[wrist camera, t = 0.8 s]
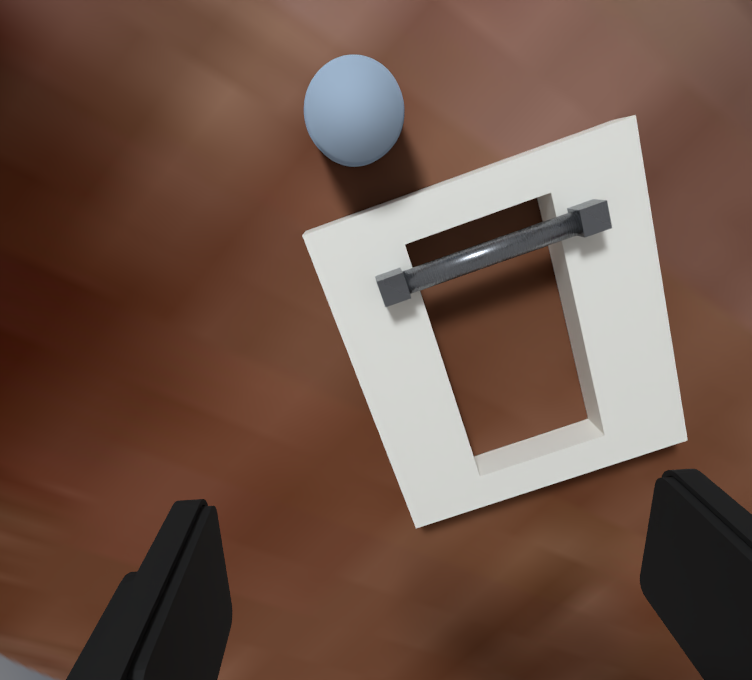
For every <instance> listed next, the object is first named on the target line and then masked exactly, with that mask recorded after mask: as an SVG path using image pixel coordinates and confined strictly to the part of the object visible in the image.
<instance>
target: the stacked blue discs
mask: <svg viewBox="0 0 752 680" xmlns="http://www.w3.org/2000/svg"><path fill="white" fill-rule="evenodd" d="M304 117H305V123H306V127H307V130H308V132H309V135H310V137H311V138H312V140H313V142H314V143H315V145H316V146H317V147H318V148H319V149H320V150H321V151H322V152H323V154H324V155H325V156H327V157H328V158H329V159H331V160H332V161H334V162H336V163H338V164H341V165H344V166H350V167H358V166H364V165H368V164H370V163H372V162H374V161H376V160H378V159H379V158H381V157H382V156H384V155H385V154H386V153H387V152H388V151H389V150H390V149H391V148H392V147H393V145H394V144H395V143H396V141H397V139H398V137H399V135H400V132H401V130H402V126H403V122H404V101H403V97H402V93H401V91H400V88H399V86H398V84H397V82H396V80H395V78H394V77H393V75H392V74H391V73H390V72H389V71H388V69H387V68H385V67H384V66H383V65H382V64H381V63H379V62H378V61H376V60H374V59H372V58H369V57H366V56H362V55H345V56H341V57H338V58H335V59H333V60H331V61H330V62H328V63H327V64H325V65H324V66H323V67H322V68H321V69H320V70H319V71H318V72H317V73H316V75H315V76H314V78H313V79H312V81H311V83H310V85H309V87H308V89H307V92H306V96H305V101H304Z"/></svg>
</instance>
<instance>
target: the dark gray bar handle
mask: <svg viewBox="0 0 752 680" xmlns="http://www.w3.org/2000/svg"><path fill="white" fill-rule="evenodd" d="M567 211H568V213H566V214H563V215H561V216H558V217H555V218H552V219H549V220H546V221H544V222H541V223H538V224H535V225H532V226H529V227H527V228H524V229H521V230H518V231H515V232H512V233H510V234H507V235H504V236H501V237H498V238H495V239H493V240H490V241H487V242H484V243H481V244H478V245H476V246H473V247H470V248H467V249H464V250H461V251H459V252H456V253H453V254H450V255H447V256H444V257H442V258H439V259H436V260H433V261H430V262H427V263H425V264H422V265H419V266H416V267H413V268H411V269H408V270H405V271H402V270H401V268H397V269H394V270H391V271H389V272H386V273H383V274H380V275H377V276H375V278H376V282H377V285H378V288H379V290H380V293H381V296H382V299H383V302H384V305H385V307H388V306H391V305H394V304H397V303H399V302H402V301H405V300H408V299H411V295H410V294H411V293H414V292H417V291H420V290H423V289H426V288H429V287H431V286H434V285H437V284H440V283H443V282H446V281H449V280H451V279H454V278H457V277H460V276H463V275H466V274H469V273H471V272H474V271H477V270H480V269H483V268H486V267H488V266H491V265H494V264H497V263H500V262H503V261H506V260H508V259H511V258H514V257H517V256H520V255H523V254H526V253H528V252H531V251H534V250H537V249H540V248H543V247H546V246H548V245H551V244H554V243H557V242H560V241H563V240H566V239H568V238H571V237H574V236H581V237H588V236H591V235H594V234H597V233H599V232H602V231H605V230H608V229H611V228H612V224H611V219H610V213H609V208H608V203H607V200H597V199H592V200H589V201H587V202H584V203H581V204H578V205H575V206H572V207H570V208H567Z"/></svg>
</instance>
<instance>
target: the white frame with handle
mask: <svg viewBox="0 0 752 680" xmlns="http://www.w3.org/2000/svg"><path fill="white" fill-rule="evenodd" d="M534 198H537V199H538V204H539V208H540V212H541V217H542V221H543V222H544V221H546V220H549V219H552V218H555V217H558V216H561V215H563V214H566V213H568V211H567V208H570V207H572V206H575V205H578V204H581V203H584V202H587V201H589V200H592V199H597V200H607V203H608V208H609V213H610V219H611V224H612V228H611V229H608V230H605V231H602V232H599V233H597V234H594V235H591V236H588V237H581V236H574V237H571V238H568V239H566V240H563V241H560V242H557V243H554V244H551V245H548V247H549V251H550V256H551V260H552V264H553V269H554V273H555V277H556V282H557V286H558V290H559V295H560V299H561V303H562V308H563V312H564V316H565V321H566V325H567V330H568V334H569V338H570V343H571V347H572V351H573V356H574V360H575V364H576V369H577V373H578V377H579V382H580V386H581V390H582V395H583V399H584V403H585V408H586V412H587V416H588V419H586V420H583V421H580V422H577V423H574V424H571V425H568V426H565V427H562V428H559V429H556V430H553V431H550V432H547V433H544V434H541V435H538V436H535V437H532V438H529V439H526V440H523V441H520V442H517V443H513V444H510V445H507V446H504V447H501V448H498V449H495V450H492V451H489V452H486V453H483V454H480V455H477V456H473V453H472V450H471V447H470V444H469V441H468V438H467V435H466V431H465V428H464V425H463V422H462V419H461V416H460V413H459V410H458V407H457V404H456V401H455V398H454V394H453V391H452V388H451V385H450V382H449V379H448V376H447V373H446V370H445V367H444V364H443V360H442V357H441V354H440V351H439V348H438V345H437V342H436V339H435V336H434V333H433V330H432V327H431V323H430V320H429V317H428V314H427V311H426V308H425V305H424V302H423V299H422V296H421V293H420V291H417V292H414V293H411V294H410V295H411V299H408V300H405V301H402V302H399V303H397V304H394V305H391V306H388V307H385V305H384V302H383V299H382V296H381V293H380V290H379V288H378V285H377V282H376V278H375V276H377V275H380V274H383V273H386V272H389V271H391V270H394V269H397V268H401V270H402V271H405V270H408V269H411V268H412V265H411V262H410V259H409V255H408V252H407V249H406V246H405V244H408V243H411V242H413V241H416V240H419V239H422V238H425V237H427V236H430V235H433V234H436V233H439V232H441V231H444V230H447V229H450V228H453V227H455V226H458V225H461V224H464V223H467V222H469V221H472V220H475V219H478V218H481V217H484V216H486V215H489V214H492V213H495V212H498V211H500V210H503V209H506V208H509V207H512V206H514V205H517V204H520V203H523V202H526V201H528V200H531V199H534ZM302 236H303V239H304V241H305V244H306V246H307V249H308V251H309V254H310V257H311V259H312V262H313V264H314V267H315V269H316V272H317V275H318V277H319V280H320V282H321V285H322V287H323V290H324V293H325V295H326V298H327V300H328V303H329V305H330V308H331V311H332V313H333V316H334V318H335V321H336V323H337V326H338V329H339V331H340V334H341V336H342V339H343V341H344V344H345V347H346V349H347V352H348V354H349V357H350V359H351V362H352V365H353V367H354V370H355V372H356V375H357V377H358V380H359V383H360V385H361V388H362V390H363V393H364V395H365V398H366V401H367V403H368V406H369V408H370V411H371V413H372V416H373V419H374V421H375V424H376V426H377V429H378V431H379V434H380V437H381V439H382V442H383V444H384V447H385V449H386V452H387V455H388V457H389V460H390V462H391V465H392V468H393V470H394V473H395V475H396V478H397V480H398V483H399V486H400V488H401V491H402V493H403V496H404V498H405V501H406V504H407V506H408V509H409V511H410V514H411V516H412V519H413V522H414V524H415V527H416V528H419V527H422V526H425V525H428V524H431V523H435V522H438V521H441V520H444V519H447V518H450V517H453V516H456V515H459V514H462V513H465V512H468V511H472V510H475V509H478V508H481V507H484V506H487V505H490V504H493V503H496V502H499V501H502V500H505V499H508V498H512V497H515V496H518V495H521V494H524V493H527V492H530V491H533V490H536V489H539V488H542V487H545V486H549V485H552V484H555V483H558V482H561V481H564V480H567V479H570V478H573V477H576V476H579V475H582V474H586V473H589V472H592V471H595V470H598V469H601V468H604V467H607V466H610V465H613V464H616V463H619V462H622V461H626V460H629V459H632V458H635V457H638V456H641V455H644V454H647V453H650V452H653V451H656V450H659V449H663V448H666V447H669V446H672V445H675V444H678V443H681V442H684V441H687V434H686V428H685V421H684V415H683V409H682V403H681V396H680V390H679V384H678V378H677V371H676V365H675V359H674V353H673V346H672V340H671V334H670V328H669V321H668V315H667V309H666V302H665V296H664V290H663V284H662V277H661V271H660V265H659V259H658V252H657V246H656V240H655V234H654V227H653V221H652V215H651V209H650V202H649V196H648V190H647V184H646V177H645V171H644V165H643V158H642V152H641V146H640V140H639V133H638V127H637V121H636V115H634V116H629V117H624V118H620V119H615V120H612V121H609V122H606V123H603V124H601V125H598V126H595V127H592V128H589V129H587V130H584V131H581V132H578V133H576V134H573V135H570V136H567V137H565V138H562V139H559V140H556V141H553V142H551V143H548V144H545V145H542V146H540V147H537V148H534V149H531V150H529V151H526V152H523V153H520V154H518V155H515V156H512V157H509V158H506V159H504V160H501V161H498V162H495V163H493V164H490V165H487V166H484V167H482V168H479V169H476V170H473V171H470V172H468V173H465V174H462V175H459V176H457V177H454V178H451V179H448V180H446V181H443V182H440V183H437V184H435V185H432V186H429V187H426V188H423V189H421V190H418V191H415V192H412V193H410V194H407V195H404V196H401V197H399V198H396V199H393V200H390V201H387V202H385V203H382V204H379V205H376V206H374V207H371V208H368V209H365V210H363V211H360V212H357V213H354V214H352V215H349V216H346V217H343V218H340V219H338V220H335V221H332V222H329V223H327V224H324V225H321V226H318V227H316V228H313V229H310V230H307V231H305V233H304V234H303V235H302Z"/></svg>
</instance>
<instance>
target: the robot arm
mask: <svg viewBox="0 0 752 680" xmlns="http://www.w3.org/2000/svg"><path fill="white" fill-rule="evenodd" d="M640 585H641V589H642V591H643V594H644V595H645V597H646V599H647V600H648V602H649V603H650V604H651V606H652V607H653V609H654V610H655V611H656V613H657V614H658V616H659V617H660V618H661V620H662V621H663V623H664V624H665V625H666V627H667V628H668V630H669V631H670V633H671V634H672V635H673V637H674V638H675V640H676V641H677V642H678V644H679V645H680V647H681V648H682V649H683V651H684V652H685V654H686V655H687V656H688V658H689V659H690V661H691V662H692V664H693V665H694V666H695V668H696V669H697V671H698V672H699V673H700V675H701V676H702V678H703V679H704V680H752V514H750V513H749V512H748V511H747V510H746V509H744V508H743V507H742V506H741V505H740V504H738V503H737V502H736V501H735V500H734V499H732V498H731V497H730V496H729V495H728V494H726V493H725V492H724V491H723V490H722V489H720V488H719V487H718V486H717V485H716V484H714V483H713V482H712V481H711V480H710V479H708V478H707V477H706V476H705V475H704V474H702V473H701V472H700V471H698V470H696V469H681V470H668V471H665V472H664V473H663V475H662V478H658V479H657V480H656V483H655V488H654V494H653V500H652V506H651V512H650V518H649V524H648V531H647V537H646V543H645V549H644V555H643V561H642V567H641V573H640ZM231 623H232V603H231V597H230V591H229V584H228V578H227V572H226V566H225V559H224V553H223V547H222V540H221V534H220V528H219V522H218V515H217V510H216V507H215V506H208V505H207V502H206V500H204V499H199V500H183V501H176V502H175V503H174V504H173V506H172V508H171V510H170V512H169V514H168V515H167V517H166V519H165V521H164V523H163V525H162V527H161V529H160V530H159V532H158V534H157V536H156V538H155V540H154V542H153V544H152V545H151V547H150V549H149V551H148V553H147V555H146V557H145V559H144V561H143V562H142V564H141V566H140V568H139V570H138V572H130V573H128V574H127V575H125V577H124V578H123V580H122V581H121V583H120V584H119V586H118V588H117V590H116V591H115V593H114V595H113V597H112V599H111V600H110V602H109V604H108V606H107V608H106V609H105V611H104V613H103V615H102V616H101V618H100V620H99V622H98V624H97V625H96V627H95V629H94V631H93V633H92V634H91V636H90V638H89V640H88V641H87V643H86V645H85V647H84V649H83V650H82V652H81V654H80V656H79V658H78V659H77V661H76V663H75V665H74V667H73V668H72V670H71V672H70V674H69V675H68V677H67V679H66V680H217V678H218V674H219V671H220V667H221V663H222V659H223V655H224V651H225V647H226V644H227V640H228V636H229V632H230V628H231Z"/></svg>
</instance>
